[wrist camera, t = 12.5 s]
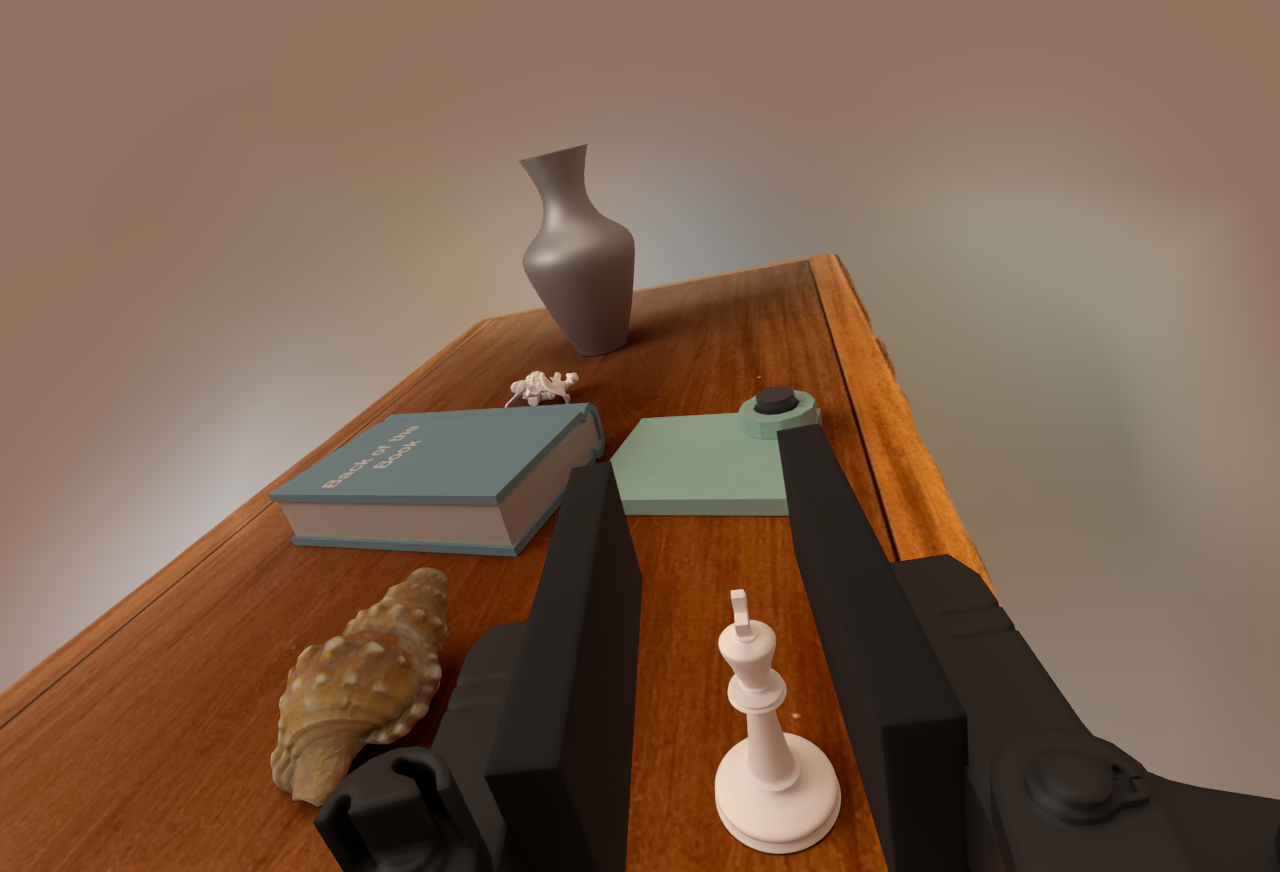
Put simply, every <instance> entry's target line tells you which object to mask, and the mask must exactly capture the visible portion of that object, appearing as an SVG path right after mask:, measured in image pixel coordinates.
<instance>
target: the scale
mask: <svg viewBox="0 0 1280 872" xmlns="http://www.w3.org/2000/svg"><path fill="white" fill-rule="evenodd" d="M794 395H795V402H796V408H795V409H793V410H791V411H789V412H785V413H782V414H777V415H764V414H760V413H758V407H757V401H756V396H755V397H753V398H751V399H750V400H748V401H746V402H744V403H743V404H742V406H741V408H740V410H739V413H728V414H711V415H694V416H677V417H659V418H643V419H641V421H640V422H639V423H638V424H637V426H636V427H635V428H634V430H633V431H632V432H631V433H630V435H629V436H628V437H627V439H626V440H625V441H624V442H623V444H622V445H621V446H620V448H619V449H618V450H617V452H616V453H615V454H614V455H613V457H612V458H611V459H610V461H611V463H612V467H613V471H614V475H615V478H616V482H617V486H618V490H619V493H620V497H621V501H622V504H623V508H624V512H625V515H706V516H789V511H788V504H787V498H786V491H785V484H784V478H783V471H782V465H781V458H780V451H779V445H778V438H777V432H776V431H779V430H784V429H790V428H795V427H801V426H806V425H812V424H817V423H819V425H820V427H821V426H822V416H821V409H820V408H816V401H815V398H813V397H812V396H811V395H810V394H808V393H807V392H802V391H796V390H794Z"/></svg>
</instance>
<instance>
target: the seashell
mask: <svg viewBox="0 0 1280 872" xmlns="http://www.w3.org/2000/svg"><path fill="white" fill-rule="evenodd" d="M447 585H448V579H447V576H446V575H445V574H444V573H443V572H441V571H439V570H436V569H432V568H424V567H422V568H421V569H417V570H416V571H414V572H413V573H412V574H411V575H410V576H409V577H408V578H407V580H406V581H404V582H403V583H401V584H398V585H395V586H393V587H391V588H389V590H388V591H387V593H386V595H385V596H384V598H383V600H382V601H380V602H379V603H377V604H375V605H373V606H372V607H371V608H369V609H364V610H361V611H359V613H358V615H357V617H356V619H352V620H351V621H350V622H349V623H348V625H347V627H346V628H345V630H344V632H343V634H342V635H341V636H337V637H334V638H332V639H330V640H329V641H327V642H326V643H325V644H322V645H311V646H309V647H308V648H307V649H305V650H304V651H303V652H302V654H301V655H300V656H299V657H298V661H297V665H295V666H293V667H292V668H291V670H290V671H289V676H288V681H287V689H286V691H285V693H284V694H283V696H282V697H281V698H280V703H279V709H280V713H281V718H280V720H279V722H278V727H279V730H280V731H279V735H278V743H277V747H276V749H275V750H274V751H273V753H272V754H271V767H272V773H273V780H274V782H275V784H276V786H277V787H279V788H280V789H281V790H283V791H286V792H289V793H290V794H292V799H293V801H294V802H298V801H301V800H304V801H307V802H309V803H311V804H313V805H315V806H317V807H318V806H321V805H323V804H324V802H325V800H326V798H327V797H328V796H329V795H330V794H331V793H332V792H333V791H334V789H335V788H336V787H337V786H338V785H339V784H340V783H341V782H342V781H343V780H344V778H345V776H346V775H347V773H348V770H349V767H350V764H351V762H352V760H353V759H354V758H355V757H356V755H357V754H358V753H359V752H360V751H361V750H362V748H363V747H364V746H365V745H366V744H369V743H371V744H390V743H392V742H394V741H396V740H398V739H399V738H401V737H403V736H405V735H406V734H407V733H409V732H410V731H411V730H412V728H413V727H414V725H415V724H416V723H417V722H418V721H419V720H420V719H422V718H423V717H424V716H425V715H426V714H427V712H428V710H429V704H430V702H431V699H432V698H433V696H434V694H435V693H436V692H437V690H438V688H439V686H440V679H441V677H442V672H441V667H440V664H439V661H438V654H439V653H441V651H442V648H443V646H444V644H445V642H446V640H447V638H448V635H449V627H448V623H447V619H446V615H445V610H446V608H447V605H448V603H449V600H448V594H447V591H446V588H447Z"/></svg>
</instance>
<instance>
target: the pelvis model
mask: <svg viewBox="0 0 1280 872" xmlns="http://www.w3.org/2000/svg"><path fill="white" fill-rule="evenodd" d="M539 376H540V377H539ZM566 377H567V380H566V381H561V380H560V378H561V374H560V373H559V372H556V373H555V374H554V377H553V378H552V377H550V379H551V380H552V383H551V382H550V381H549V380H548V379H547V378H545V375H544V373H543V372H542V373H541V372H540V371H536V372H535V373H534V372H532V373H531V375H528V376H527V377H526V380H523V381H518V382H514V383H513V384H512V385H511V391H512V392H514V393H516V394H515V396H514V397H513V398H512V399H511V400H510V401H509V402H508V403H507V404H506V405H505V408H511V407H519V406H521V405H522V404H523V401H524V400H525V399H528V403H529V405H530V406H536V405H538V404H539V403H540V401H546V400H553V399H555V396H556V395H560V396H562V397H563V398H564V400H565V402H566V404H569V403H570V396H569V395H568V394H566V392H565V391H567V389H568V388H569V387H570V386H571V385H572V386H573V385H574V384H575V383H576V382H577V381H578V379H579V377H578V376H577V374H576V373H567V374H566ZM539 380H540V381H539Z"/></svg>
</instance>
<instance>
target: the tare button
mask: <svg viewBox="0 0 1280 872" xmlns="http://www.w3.org/2000/svg"><path fill="white" fill-rule="evenodd" d="M756 401H757V407H758V413H760V414H764V415H777V414H782V413H785V412H789V411H791V410H793V409H795V408H796V402H795V395H794V390H793V389H792V388H789V387H783V386H779V387H771V388H767V389H764V390H762V391H760V392H759V393H758V394H757V395H756Z"/></svg>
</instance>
